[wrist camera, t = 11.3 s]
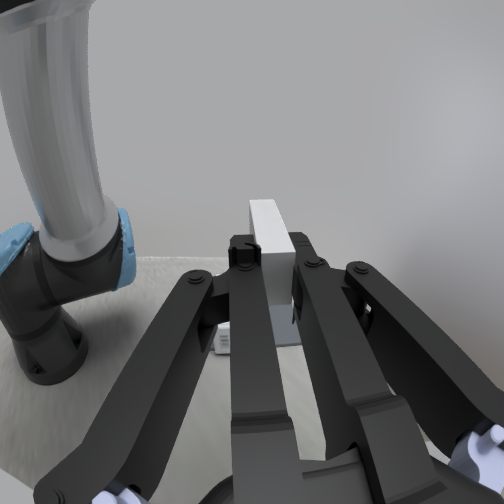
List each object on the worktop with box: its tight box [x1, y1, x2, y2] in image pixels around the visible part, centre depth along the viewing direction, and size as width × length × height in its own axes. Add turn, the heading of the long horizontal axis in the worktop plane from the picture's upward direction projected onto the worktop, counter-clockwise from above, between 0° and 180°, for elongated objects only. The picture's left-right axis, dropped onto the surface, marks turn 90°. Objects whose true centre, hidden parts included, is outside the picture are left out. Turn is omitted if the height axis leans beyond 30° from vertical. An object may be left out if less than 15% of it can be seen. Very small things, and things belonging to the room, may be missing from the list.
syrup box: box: [213, 274, 230, 354], centre depth 47 cm, size 6×6×14 cm
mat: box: [210, 304, 302, 350], centre depth 51 cm, size 18×16×1 cm
